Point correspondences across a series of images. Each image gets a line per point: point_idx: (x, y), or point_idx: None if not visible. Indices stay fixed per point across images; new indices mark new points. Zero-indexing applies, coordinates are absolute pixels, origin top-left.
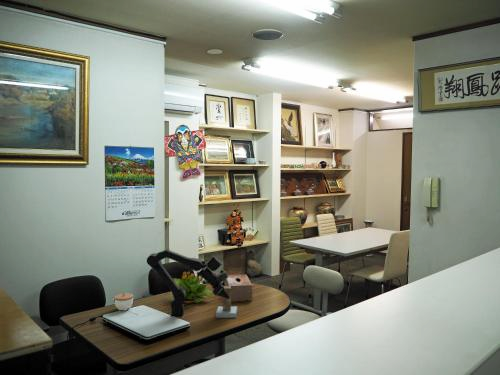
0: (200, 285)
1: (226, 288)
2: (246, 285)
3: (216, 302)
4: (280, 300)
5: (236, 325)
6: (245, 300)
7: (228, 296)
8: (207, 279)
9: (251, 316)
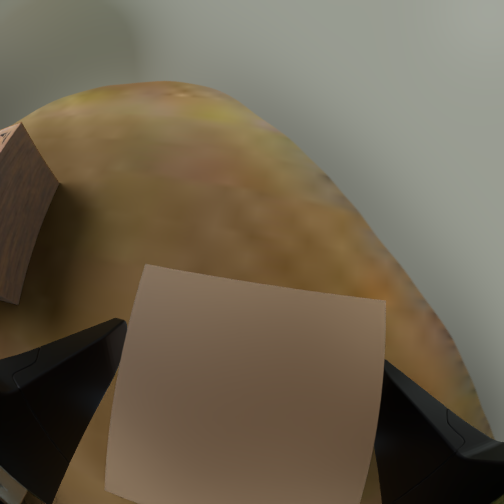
0: None
1: (376, 423)
2: (3, 149)
3: None
4: (130, 93)
5: (438, 330)
6: (45, 213)
7: (400, 372)
8: None
9: (315, 225)
